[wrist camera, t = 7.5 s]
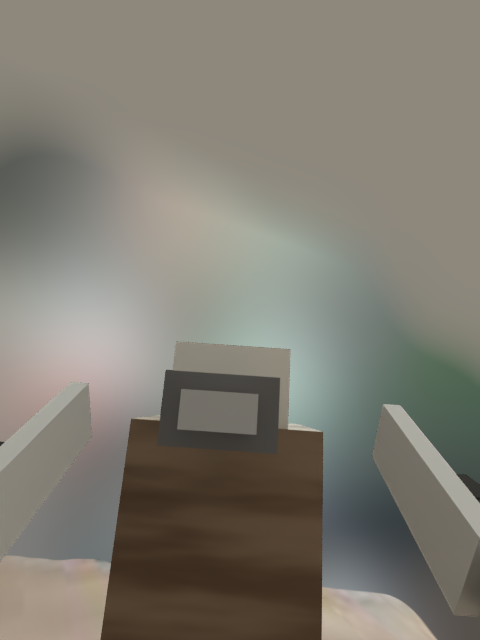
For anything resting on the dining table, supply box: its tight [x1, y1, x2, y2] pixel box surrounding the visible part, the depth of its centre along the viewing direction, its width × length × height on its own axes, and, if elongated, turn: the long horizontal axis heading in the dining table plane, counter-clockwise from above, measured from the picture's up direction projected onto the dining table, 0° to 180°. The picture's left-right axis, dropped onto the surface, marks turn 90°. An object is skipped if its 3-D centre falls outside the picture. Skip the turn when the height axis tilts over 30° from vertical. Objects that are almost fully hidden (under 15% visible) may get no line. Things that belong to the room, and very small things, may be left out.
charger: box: [157, 341, 290, 454], centre depth 23 cm, size 25×9×6 cm, turn 1°
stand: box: [101, 415, 323, 640], centre depth 26 cm, size 10×14×30 cm
